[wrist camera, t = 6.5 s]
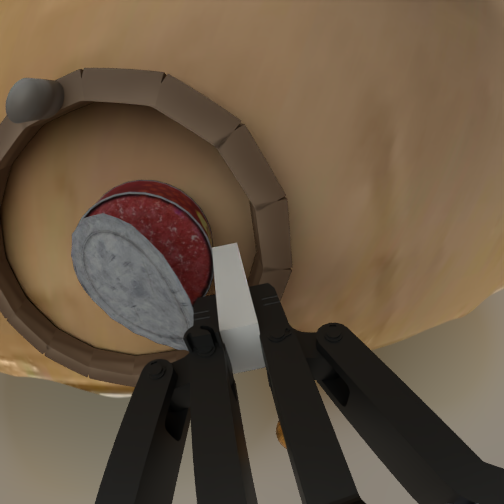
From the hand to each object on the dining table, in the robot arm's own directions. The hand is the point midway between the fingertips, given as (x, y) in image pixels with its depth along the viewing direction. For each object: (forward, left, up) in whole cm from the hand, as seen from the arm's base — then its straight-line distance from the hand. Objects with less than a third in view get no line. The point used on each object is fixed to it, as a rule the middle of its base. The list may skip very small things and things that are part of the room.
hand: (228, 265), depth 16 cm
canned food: (0, -6, -5) cm, 7 cm away
